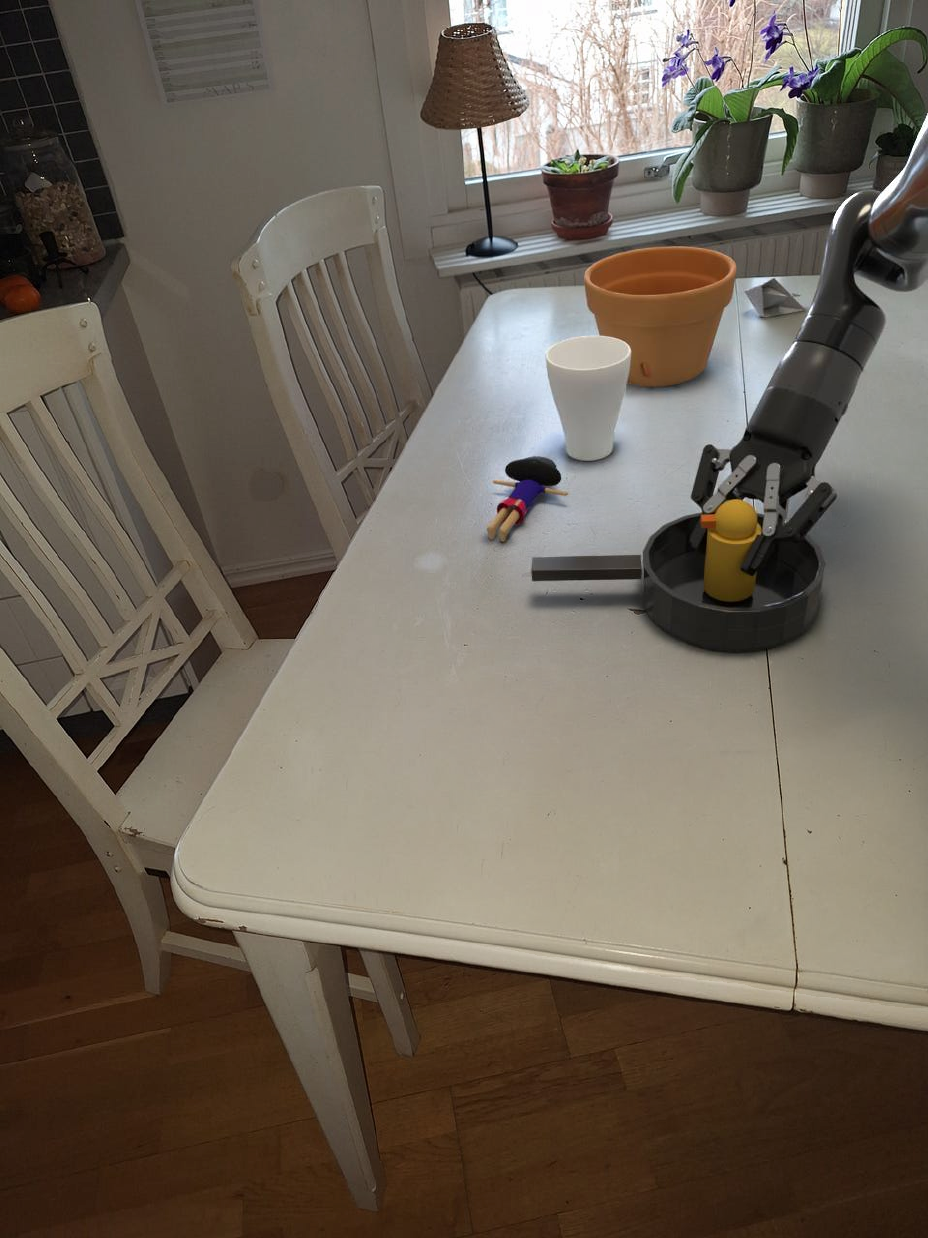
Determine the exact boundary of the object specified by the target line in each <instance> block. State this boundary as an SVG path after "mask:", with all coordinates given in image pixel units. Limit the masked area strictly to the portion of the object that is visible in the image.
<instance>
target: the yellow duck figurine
mask: <svg viewBox="0 0 928 1238" xmlns="http://www.w3.org/2000/svg"><path fill="white" fill-rule="evenodd" d="M757 513H758V512H757V511H756V509H755V508H754V506H753V505H751V503H749V502H748V501H745V500H744V499H743V500H738V499H735V500H730V501H727V502H725V503H723V504H722V505H721V506H720V507H719V508H718V510H717V511H716V513H715V514H709V515H701V527H702V528H708V533H707V545H706V558H705V570H704V582H703V587H704V590H705V592H706V593H707V594H708V595H709V596H711V597H713V598H715V599H717V600H721V601H726V602H736V601H741V600H744V599H747V598H748V597H750V596H751V595H752V594H753V592H754V588H755V581H756V573H757V572H756V573H755V574H754V575H753V576H750V575H747V574H745V573H744V572H742V571H741V569H740V568H741V565H742V563H743V561H744V559H745V557H746V555H747V553H748V551H749V549H750V548H751V546H752V544H753V542H754V540H755V538H756V536H757V534H759V535H761V533H762V529H761V527H760V525H759V524H758V523H757V520H758V519H757Z"/></svg>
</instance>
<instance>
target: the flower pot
mask: <svg viewBox="0 0 928 1238" xmlns="http://www.w3.org/2000/svg"><path fill="white" fill-rule="evenodd" d="M736 275H737V264H736V262H735V261H734V260H733V259H732V258H731V257H730V256H728V255H726V254H724V253H722V252H719V251H717V250H712V249H707V248H701V247H695V246H680V245H679V246H675V245H674V246H673V245H672V246H654V247H646V248H638V249H632V250H628V251H623V252H619V253H616V254H613V255H610V256H609V255H608V256H606V257H605V258H602V259H600V260H598V261H596V262H595V263H592V265H590V266H589V267H588V268H587V269H586V271H585V272H584V276H583V282H584V292H585V299H586V306H587V308H588V310H589V311H590V313H592V314H593V316H594V319H595V324H596V327H597V331H598V334H599V335H598V336H607V337H612V338H616V339H620V340H622V341H624V342H626V343H627V344H628V345H629V346H630V349H631V360H630V370H629V375H628V380H627V384H629V385H633V386H637V387H650V388H652V387H653V388H655V387H669V386H675V385H680V384H683V383H686V382H689V381H691V380H694V379H695V378H697V377H698V376H700V375H701V374H702V373H703V372H704V370H705V369H706V368H707V364H708V361H709V358H710V355H711V352H712V349H713V346H714V343H715V339H716V336H717V333H718V329H719V327H720V324H721V321H722V317H723V314H724V310H725V308H726V307H727V306H729V304H730V303H731V301H732V299H733V295H734V290H735V283H736Z"/></svg>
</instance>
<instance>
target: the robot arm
mask: <svg viewBox="0 0 928 1238" xmlns="http://www.w3.org/2000/svg"><path fill="white" fill-rule="evenodd" d="M855 275H856V276H858V277H860V278H861V279H865V280H866V281H869V282H872V283H874V284H875V285H878V286H880V287H882V288H885V289H887V290H890V291H893V292H898V293H909V292H913V291H917V290H918V289H920V288H921V287H922V286H923V285H925V284H926V283H927V282H928V114H927V115H926V117H925V120H924V121H923V124H922V127H921V129H920V131H919V132H918V135H917V138H916V140H915V142H914V145H913V147H912V150H911V152H910V155H909V158H908V160H907V163H906V165H905V166H904V168H903V170H901V172H900V173H899V174H898V175H897V176H896V177H895V178H894V179H893V180H892V181H891V183H889V185H888V186H887V187H886V188H885V189H883V191H879V190H876V189H863V190H860V191H859V192H856V193H854V194H853V195H851V196H850V197H849V198H847V199H846V200H845V201H844V202H843V203H842V204H841V206H840V207H839V208H838V210H837V211H836V213H835V215H834V217H833V219H832V221H831V224H830V227H829V230H828V233H827V238H826V242H825V247H824V253H823V258H822V264H821V269H820V274H819V279H818V282H817V286H816V289H815V293H814V296H813V298H812V301H811V303H810V306H809V309H808V310H807V313H806V314H805V317H804V319H803V321H802V322H801V324H800V327H799V329H798V331H797V333H796V334H795V337H794V339H793V341H792V343H791V344H790V346H789V348H788V350H787V351H786V353H785V354H784V355H783V357H782V359H781V360H780V361H779V363H778V364H777V366H776V367H775V370H774V372H773V373H772V375H771V378H770V379H769V382H768V384H767V386H766V388H765V389H764V391H763V393H762V396H761V397H760V399H759V401H758V403H757V405H756V407H755V409H754V410H753V413H752V415H751V417H750V419H749V421H748V423H747V425H746V427H745V429H744V432H743V436H742V438H741V439H740V440H739V442H737V443H736V444H735V445H734V446H732V448H730V449H728V448H717V447H715V445H713V444H712V443H709V444H706V445H705V446H704V447H703V449H702V451H701V456H700V460H699V463H698V467H697V471H696V474H695V478H694V483H693V486H692V490H691V494H690V499H691V500H692V501H693V503H695V504H696V505H697V506H698V507H699V508H700V510H701V512H702V515H709V514H715V513H716V511H717V510H718V508H719V507H720V506H721V505H722V504H723V503H725V502H727V501H730V500H735V499H738V500H743V501H744V500H745V499H749V500H758V501H759V502H761V503H762V504H763V507H762V508H763V514H764V520H763V528H762V534H761V535H759V534H757V536H756V538H755V540H754V542H753V544H752V546H751V548H750V549H749V551H748V553H747V555H746V557H745V559H744V561H743V563H742V565H741V568H740V569H741V571H742V572H744V573H745V574H747V575H750V576H753V575H754V574H755V573H756V572H761V571H762V570H763V569H764V567H765V565H766V563H767V561H768V559H769V557H770V555H771V553H772V552H773V550H774V548H775V546H776V545H777V544H778V543H780V542H792V543H799V542H801V541H802V539H803V538H804V537H805V536H806V535H807V534H809V532H810V531H811V530H812V529H813V528H814V526H815V525H816V524H817V523H818V522H819V520H820V519H821V518H822V517H823V516H824V514H825V513H826V512H827V511H828V510H829V508H830V507H831V506H832V505H833V504H834V502H836V500H837V499H838V494H837V492H836V490H835V488H833V485H831V484H830V483H829V482H826V481H821V480H819V479H817V477H816V474H815V472H816V466H817V464H818V462H819V461H820V460H821V458H822V456H823V454H824V453H825V450H826V448H827V447H828V444H829V442H830V440H831V439H832V437H833V435H834V433H835V431H836V429H837V428H838V426H839V424H840V422H841V420H842V418H843V416H845V414H846V412H847V411H848V408H849V404H850V402H851V400H852V398H853V396H854V393H855V391H856V388H857V385H858V382H859V379H860V377H861V375H862V373H863V371H864V369H865V367H866V365H867V364H868V361H869V359H870V358H871V356H872V354H873V352H874V350H875V349H876V346H877V344H878V342H879V340H880V339H881V336H882V334H883V332H884V329H885V327H886V322H887V317H886V314H885V312H884V310H883V308H882V307H881V306H880V305H878V304H877V303H876V302H875V301H874V300H873V299H872V298H871V297H869V296H868V294H866V293H864V292H863V290H862V289H861V288H860V287H859V286H858V285H857V283H856V279H855ZM728 463H729V465H730V470H731V473H730V475H728V476H727V478H725V479H724V480H723V481H722V482H721V484H719V486H718V487H717V491H716V492H715V490H716V486H717V483H718V479H719V474H720V472H721V471H724V470H725V468H726V466H727V465H728ZM805 489H807V490H806V492H805V493H804V497H805V501H804V502H803V503H802V504H801V505H800V507H799V508H798V509H797V510H796V512H794V514H793V515H792V516H791V518H790V519H789V520H788V521H787V522H788V523H787V524H786V525H784V522H785V521H786V520H787V517H788V512H789V504H790V499H791V498H792V497H794V496H796V495H797V494H799V493H801V492H803V491H804V490H805ZM707 533H708V528H702V527H701V517H700V519H699V521H698V523H697V525H696V527H695V529H694V531H693V533H692V535H691V537H690V543H692V545H691V550H693V551H694V552H696V553H698V554H700V555H704V554H705V553H706V545H707Z"/></svg>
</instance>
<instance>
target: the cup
mask: <svg viewBox="0 0 928 1238" xmlns="http://www.w3.org/2000/svg"><path fill="white" fill-rule="evenodd" d="M544 355H545V363H546V364H545V365H546V371H547V372H546V373H547V378H548V381H549V382H548V383H549V386H550V387H549V388H550V392H551V395H552V399H553V402H554V405H555V409H556V412H557V414H558V416H559V421H560V424H561V428H562V431H563V435H564V443H565V449H566V454H567V455H568V456H569V457H571V458H572V459H575V460H578V461H585V462H593V461H598V460H601V459H605V458H607V457H608V456H609V455H610V454H611V453H612V451H613V448H614V439H615V430H616V426H617V422H618V418H619V413H620V410H621V407H622V404H623V400H624V398H625V395H626V394H625V393H626V389H627V384H628V383H627V380H628V375H629V370H630V360H631V349H630V346H629V345H628V344H627V343H626V342H624V341H622V340H620V339H616V338H612V337H607V336H600V335H581V336H580V335H579V336H575V337H570V338H567V339H563V340H560V341H558V342H556V343H554V344H552V345H551V346H550V347H549V348H548V349H547V351H546V352H545V354H544Z"/></svg>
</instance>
